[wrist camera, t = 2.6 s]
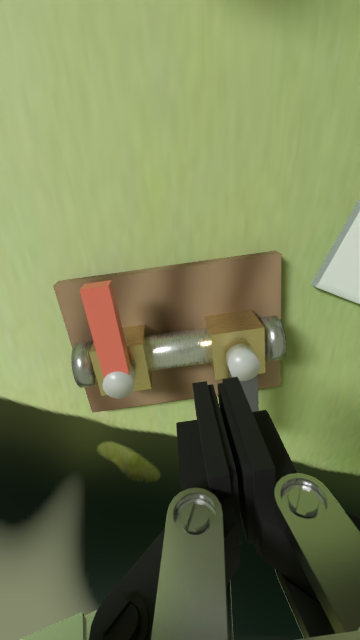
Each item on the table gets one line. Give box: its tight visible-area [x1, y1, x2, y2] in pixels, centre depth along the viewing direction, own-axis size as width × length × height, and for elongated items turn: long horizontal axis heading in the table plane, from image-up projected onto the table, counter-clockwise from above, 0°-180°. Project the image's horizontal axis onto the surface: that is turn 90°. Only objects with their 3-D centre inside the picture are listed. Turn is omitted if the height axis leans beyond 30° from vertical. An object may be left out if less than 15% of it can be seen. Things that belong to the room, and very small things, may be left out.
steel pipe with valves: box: [72, 310, 286, 396], centre depth 28 cm, size 18×4×4 cm, turn 97°
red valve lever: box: [80, 280, 135, 399], centre depth 23 cm, size 9×2×2 cm, turn 7°
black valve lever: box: [226, 344, 261, 412], centre depth 26 cm, size 9×2×2 cm, turn 7°
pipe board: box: [53, 251, 281, 412], centre depth 30 cm, size 20×14×2 cm
